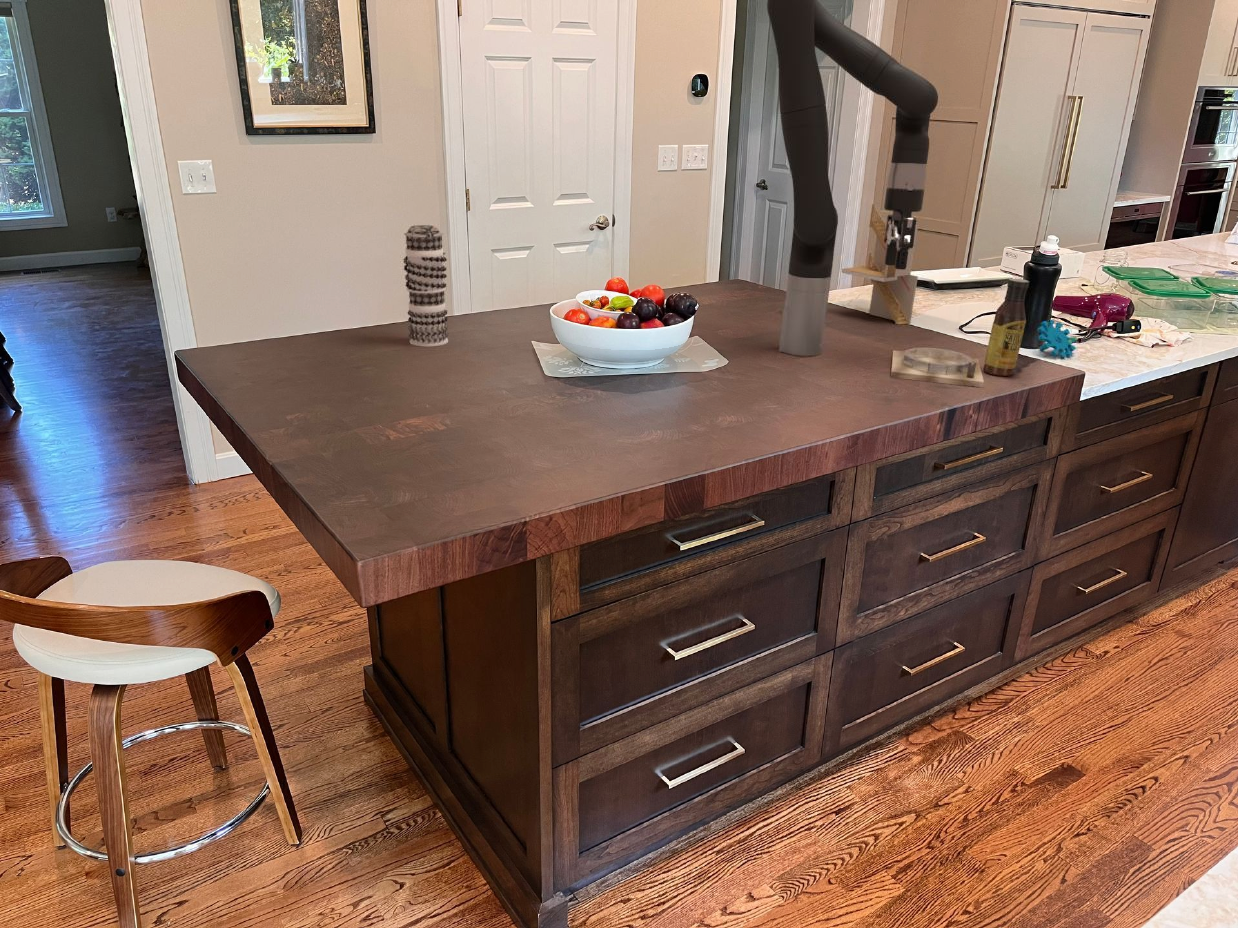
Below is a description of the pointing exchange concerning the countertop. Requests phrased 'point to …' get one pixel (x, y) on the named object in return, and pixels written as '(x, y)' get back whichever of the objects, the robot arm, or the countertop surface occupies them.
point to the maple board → (907, 373)
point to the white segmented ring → (936, 368)
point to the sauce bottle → (1007, 330)
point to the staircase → (888, 278)
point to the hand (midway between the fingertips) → (894, 267)
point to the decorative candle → (426, 286)
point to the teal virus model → (1056, 339)
